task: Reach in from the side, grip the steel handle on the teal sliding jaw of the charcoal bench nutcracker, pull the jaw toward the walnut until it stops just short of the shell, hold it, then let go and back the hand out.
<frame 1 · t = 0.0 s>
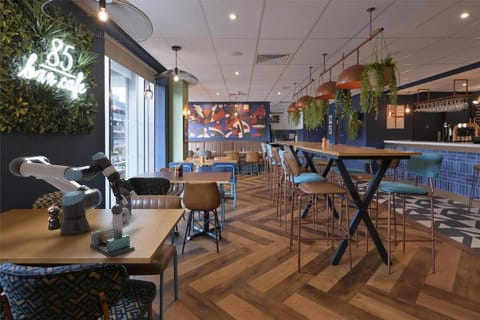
hand: (132, 201, 168), 15 cm above the table, tool tilted 35°, fingers open, 13 cm apart
nutcracker base: (111, 248, 134), on the table
donut: (123, 223, 175), on the table
jaw: (117, 226, 129), point 12 cm above the table, slide at 0.0 cm
walnut: (106, 238, 136), point 4 cm above the table
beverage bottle: (124, 214, 196), on the table
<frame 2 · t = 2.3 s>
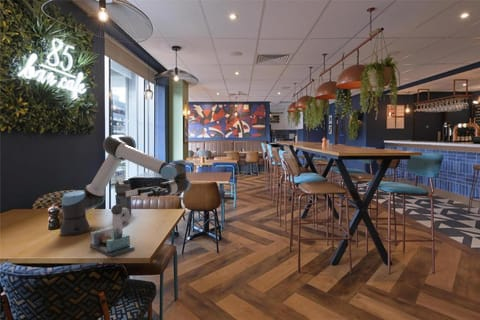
hand: (133, 195, 136), 26 cm above the table, tool horizontal, fingers open, 13 cm apart
nothing on the table moved.
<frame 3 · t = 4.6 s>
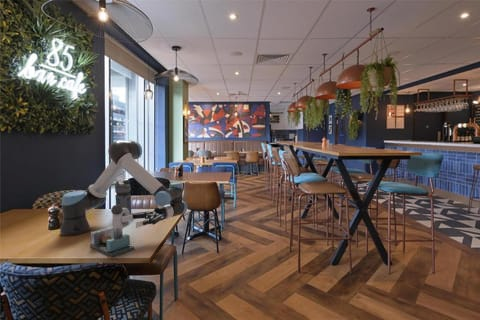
hand: (128, 222, 133), 13 cm above the table, tool horizontal, fingers open, 13 cm apart
nothing on the table moved.
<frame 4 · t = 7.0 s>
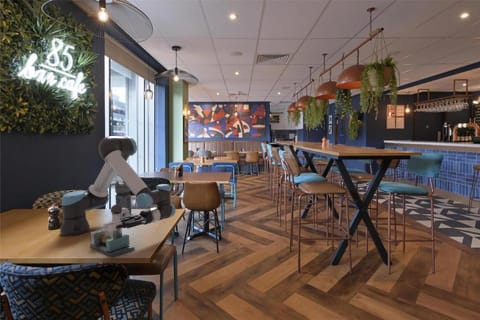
hand: (106, 228, 125), 13 cm above the table, tool horizontal, fingers closed on jaw, 4 cm apart
jaw: (117, 226, 129), point 12 cm above the table, slide at 0.5 cm, touching gripper
everything else where it was.
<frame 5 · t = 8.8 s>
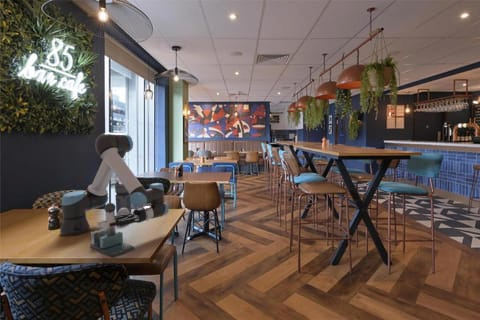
hand: (99, 225, 128), 13 cm above the table, tool horizontal, fingers closed on jaw, 4 cm apart
jaw: (110, 224, 133), point 12 cm above the table, slide at 6.5 cm, touching gripper
everything else where it was.
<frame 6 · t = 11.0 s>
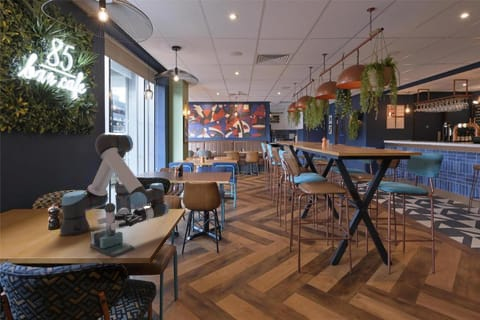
hand: (104, 224, 130), 13 cm above the table, tool horizontal, fingers open, 13 cm apart
jaw: (110, 224, 133), point 12 cm above the table, slide at 6.5 cm
everything else where it was.
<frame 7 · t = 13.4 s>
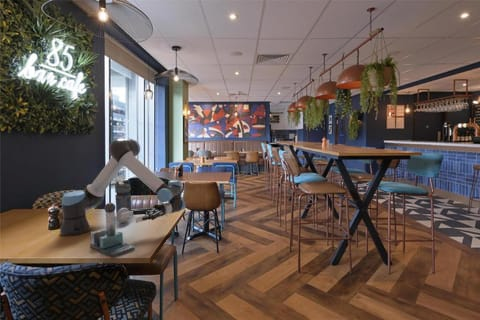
hand: (128, 218, 140), 13 cm above the table, tool horizontal, fingers open, 13 cm apart
nothing on the table moved.
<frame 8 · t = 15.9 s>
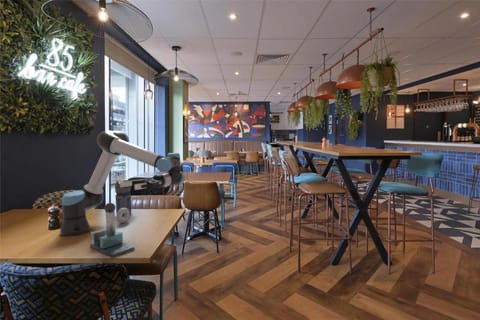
hand: (127, 186, 139), 30 cm above the table, tool horizontal, fingers open, 13 cm apart
nothing on the table moved.
at the end: jaw slide at 6.5 cm; jaw touching nothing; the gripper is holding nothing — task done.
